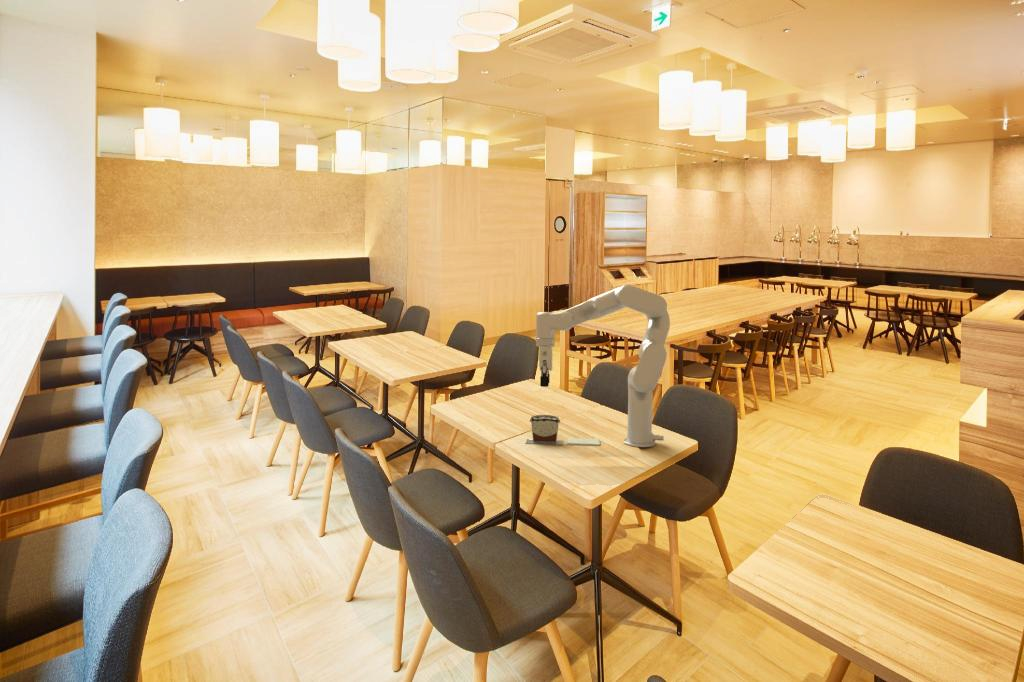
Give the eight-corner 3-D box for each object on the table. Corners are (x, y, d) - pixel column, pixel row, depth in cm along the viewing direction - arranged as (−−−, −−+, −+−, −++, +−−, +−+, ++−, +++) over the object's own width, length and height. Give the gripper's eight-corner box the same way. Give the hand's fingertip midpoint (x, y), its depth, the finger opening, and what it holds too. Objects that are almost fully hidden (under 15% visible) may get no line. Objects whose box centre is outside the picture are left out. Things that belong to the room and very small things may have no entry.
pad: (598, 438, 230) (598, 437, 230) (599, 445, 219) (600, 444, 219) (567, 437, 231) (567, 436, 231) (567, 444, 220) (567, 443, 220)
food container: (560, 439, 228) (560, 415, 227) (560, 442, 222) (560, 418, 221) (530, 438, 229) (530, 414, 228) (529, 441, 223) (529, 417, 222)
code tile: (563, 438, 230) (563, 437, 230) (563, 445, 219) (563, 444, 219) (527, 437, 232) (527, 436, 232) (525, 443, 221) (525, 443, 221)
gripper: (554, 344, 214) (553, 388, 215) (555, 341, 231) (554, 381, 232) (534, 344, 215) (534, 387, 216) (537, 341, 232) (537, 381, 233)
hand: (545, 384), depth 224 cm, fingers open, 9 cm apart
